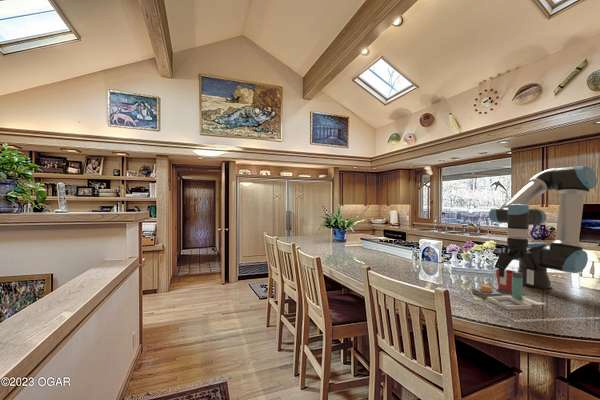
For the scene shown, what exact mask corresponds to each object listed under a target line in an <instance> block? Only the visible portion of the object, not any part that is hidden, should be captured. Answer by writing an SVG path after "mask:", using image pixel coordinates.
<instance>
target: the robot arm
mask: <svg viewBox="0 0 600 400" xmlns="http://www.w3.org/2000/svg"><path fill="white" fill-rule="evenodd" d="M597 184H598V180H597V175H596V172H595V170H594V169H593V168H592V167H590V166H588V165H575V166H567V167H566V166H565V167H554V168H553V167H552V168H549V169H546V170H543V171H541V172H539V173H537V174H535V175H534V176H533V177H531V178H530V179H528V180H527V181H526V183H525V185H524V186H523V187H522V188H521V189H520V190H519V191H517V192H516V193H515V194H514V195H513V196H512V197H511V198H509V199H508V201H506V202H505V203H504V204H503V205H502V206H500V207H494V208H491V209H490V210H489V212H488V217H489V220H490V221H491V222H493V223H499V224H507V234H506V235H507V239H506V245H507V248H506V247H502V248H501V250H500V251H501V252H500V254H499V256H498V258H497V260H496V262H495V263H494V268H496V270H498V269H499V276H500V284H503V285H506V275H507V271H506V270H507V267H508V266H509V265H511V262H512V261H514V260H516V259H518V261H519V262H518V270H517V272H521V273H523V286H525V287H528V288H536V289H551V288H552V282H551V279H550V277H549V274H548V270H549V269H550V270H554V271H559V272H563V273H571V274H579V273H581V272H583V271H584V270H585V268H586V266H587V264H588V262H589V257H588V253H587V252H586V251H585V250H583V246H582V245H581V244H580V236H581V235H580V233H581V228H582V217H583V210H584V202H585V197H586V196H587V195H588V194H590V190H592V189H595V188H596V187H597ZM553 190H555V191H556V192H557V193H558V194H559V195H560V196H559V197H560V198H559V204H558V205H559V206H558V214H557V222H556V229H555V239H554V240H553V241H551V242H550V244H549V245H548V243H547V242H529V239H528V238H529V225H530V226H538V225H542V224H544V223H546V221H547V214H546V212H545V211H543V209H542V210H541V209H539V208H538V209H537V208H530V207H529V205H530V203H531V202H533V201H534V200H535V199H536V198H537V197H538V196H539V195H541V194H542V195H543V194H544V193H546V192H547V191H553ZM547 269H548V270H547Z"/></svg>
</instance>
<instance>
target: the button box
mask: <svg viewBox="0 0 600 400" xmlns="http://www.w3.org/2000/svg"><path fill="white" fill-rule="evenodd" d="M471 289H472V290H471V291H472V294H473V295H476V296H479V297H480V298H483V299H485V300H487V297H501V296H502V293H501V292H499V291H496V290H494V289H492V293H485V292H483V291H481V287H472V288H471Z"/></svg>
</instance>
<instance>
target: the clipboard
mask: <svg viewBox="0 0 600 400" xmlns="http://www.w3.org/2000/svg"><path fill="white" fill-rule="evenodd" d="M501 296H510V297H512V294H501ZM519 301H522V302H524V303H527V304H529V305H532V306H533V305H534V306H535V305H536V306H537V305H546V303H545V302H543V301H542V300H541V299H538V298H535V297H534V296H533V297H532V296H530V295H523V294H522V300H519Z"/></svg>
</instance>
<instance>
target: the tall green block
mask: <svg viewBox="0 0 600 400" xmlns="http://www.w3.org/2000/svg"><path fill="white" fill-rule="evenodd" d="M512 271H513V272H512V292H511V295H512V298H515V299H517V300H522V295H523V286H524V285H523V273H521V272H518V271H517V272H515V271H516V270H512Z"/></svg>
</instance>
